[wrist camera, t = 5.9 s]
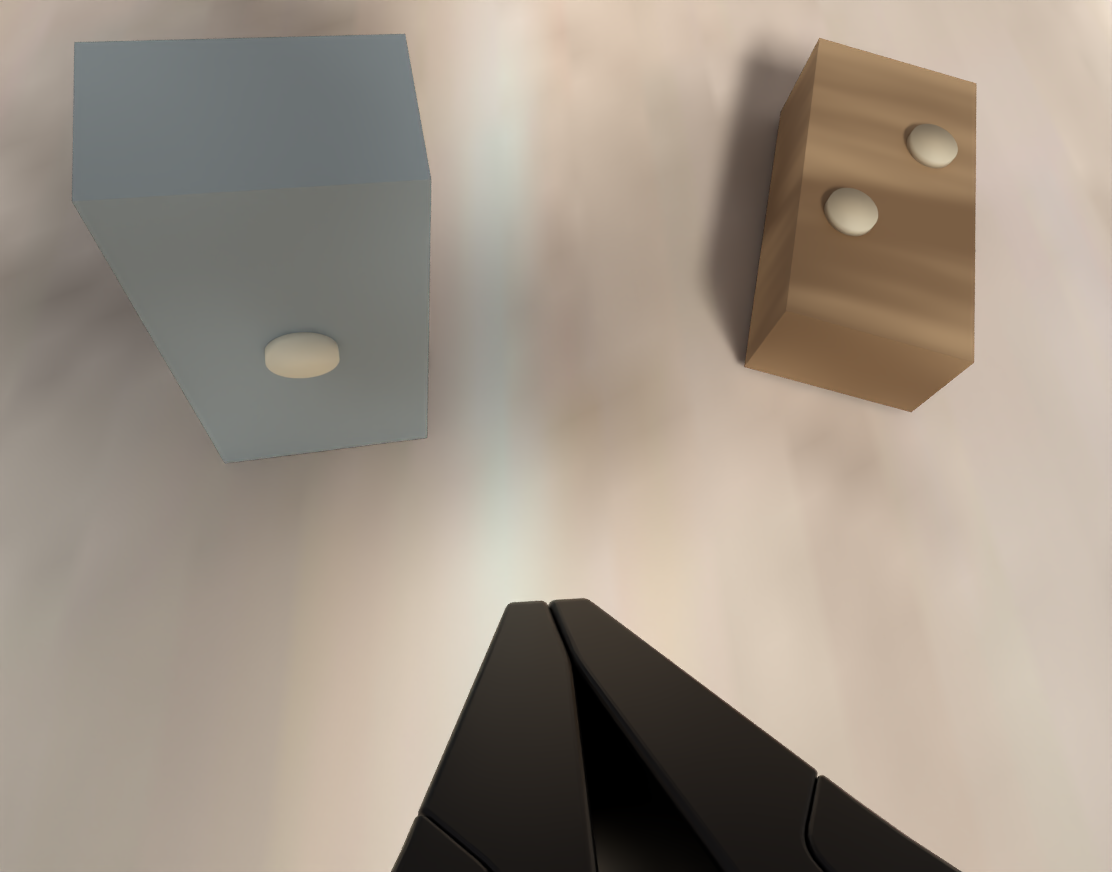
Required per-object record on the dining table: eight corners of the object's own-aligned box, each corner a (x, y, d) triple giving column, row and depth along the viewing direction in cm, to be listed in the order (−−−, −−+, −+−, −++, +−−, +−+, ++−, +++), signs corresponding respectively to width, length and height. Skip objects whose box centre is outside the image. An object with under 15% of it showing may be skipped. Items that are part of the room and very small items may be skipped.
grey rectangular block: (428, 446, 22) (433, 191, 13) (225, 472, 21) (72, 216, 12) (410, 329, 23) (402, 23, 14) (218, 348, 22) (74, 30, 13)
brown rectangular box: (979, 357, 21) (981, 77, 25) (790, 305, 21) (823, 30, 25) (906, 415, 24) (918, 158, 28) (741, 370, 24) (777, 117, 28)
